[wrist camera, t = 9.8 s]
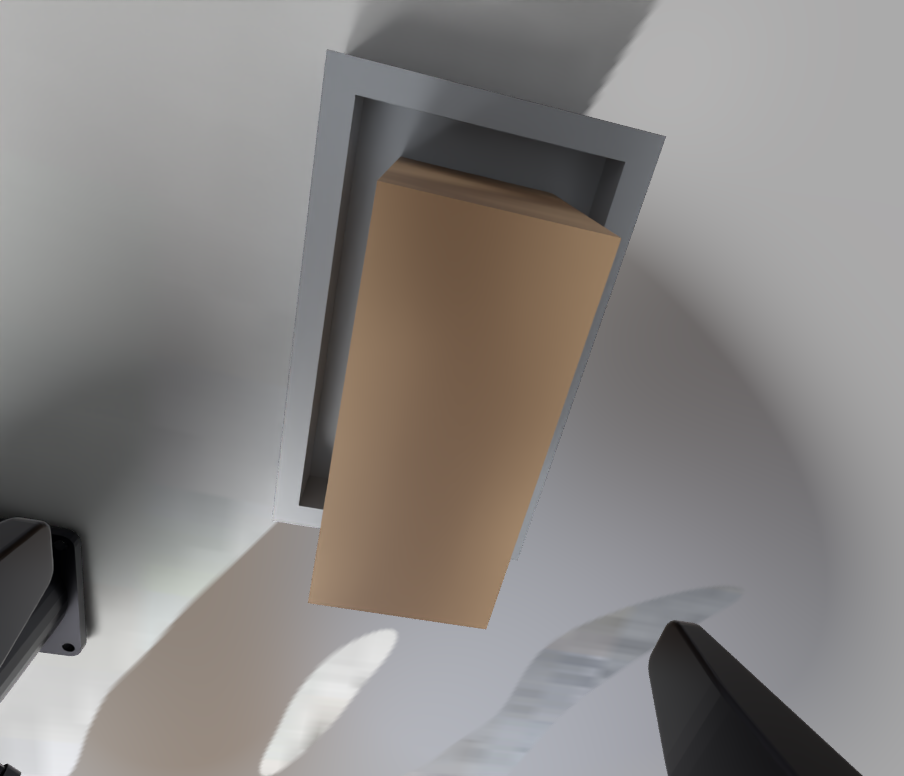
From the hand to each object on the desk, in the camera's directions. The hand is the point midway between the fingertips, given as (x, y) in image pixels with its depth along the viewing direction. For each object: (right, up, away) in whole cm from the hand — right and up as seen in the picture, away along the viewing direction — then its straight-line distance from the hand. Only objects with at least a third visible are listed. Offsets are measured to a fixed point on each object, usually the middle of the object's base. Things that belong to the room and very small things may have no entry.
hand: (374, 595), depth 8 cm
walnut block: (+1, +5, +10) cm, 11 cm away
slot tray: (+1, +5, +11) cm, 12 cm away
